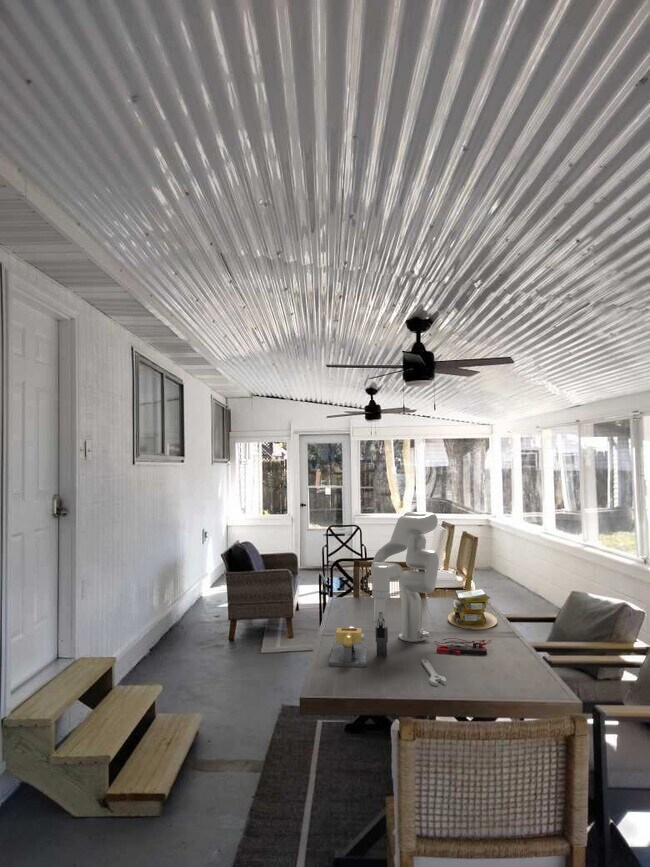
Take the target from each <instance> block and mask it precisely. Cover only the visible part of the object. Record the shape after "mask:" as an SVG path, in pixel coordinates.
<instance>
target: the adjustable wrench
mask: <svg viewBox="0 0 650 867" xmlns="http://www.w3.org/2000/svg"><path fill="white" fill-rule="evenodd" d="M421 664H422V665H424V666H423V667H424V669H425V670H426V672H427V673H428V675H429V676H430V678H429V684H430V685H432V686H435V687H438V686H439V683H441V684H442V685H447V678H446V676H442V675H440V674H438V673H437V672H436V670H435V669H434V667H433V666H432V664H431V662H429V660H428V659H422V660H421Z"/></svg>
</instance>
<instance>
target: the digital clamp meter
mask: <svg viewBox="0 0 650 867" xmlns="http://www.w3.org/2000/svg"><path fill="white" fill-rule="evenodd" d="M445 640H448V641H446V642H440V641H438V640H434V642H435V643H436V645H437V647H436V653H437V654H444V653H445V654H446V655H457V656H460V655H464V654H467V656H468V655H469V656H487V655H488V649H487V647H485V646H486V645H488V644H491V643H492V639H490V640H486V639H481V640H479V639H477V641H480V642H475V641H476V640H471V641H472V642H471V641H470V640H469V641H470V642H467V640H465V639H461V638H456V637H447V638H443V639H442V641H445ZM449 640H450V641H449ZM453 640H455V641H453ZM456 640H460V641H456ZM471 643H473V644H472V645H469V644H471ZM441 644H443V645H441ZM459 644H460V645H459Z"/></svg>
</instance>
